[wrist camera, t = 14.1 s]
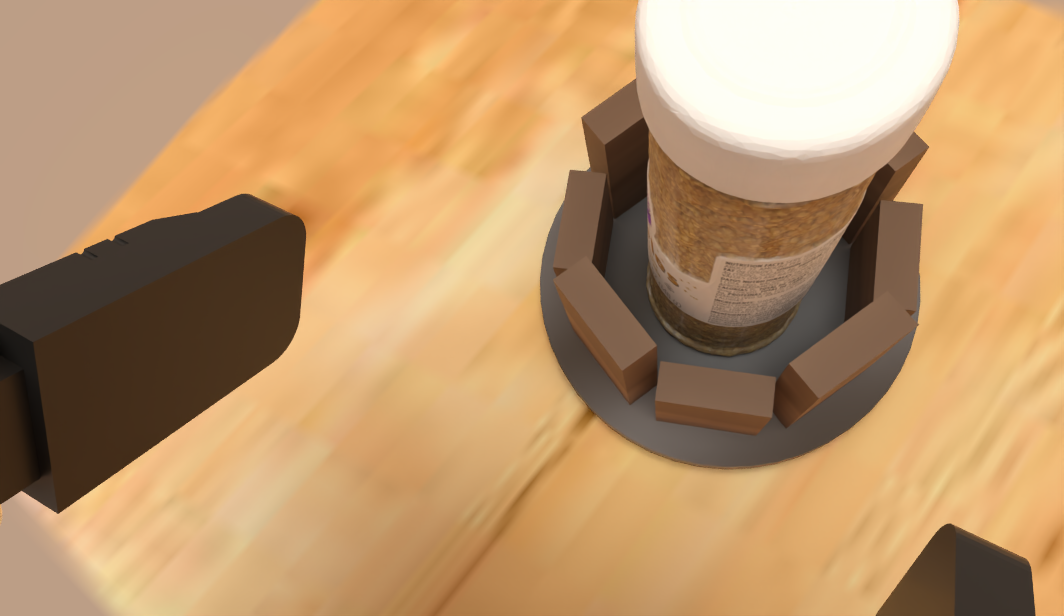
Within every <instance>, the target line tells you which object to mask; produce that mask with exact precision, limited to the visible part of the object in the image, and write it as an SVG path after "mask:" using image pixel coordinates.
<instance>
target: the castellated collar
mask: <svg viewBox="0 0 1064 616" xmlns="http://www.w3.org/2000/svg"><path fill="white" fill-rule="evenodd" d="M581 118H582V124H583V129H584V135H585V140H586V145H587V151H588V156H589V162H590V168H589V169H588V170H587V171H576V170H570V172H569V178H568V183H567V189H566V195H565V200H564V202H563V204H562V205H561V207H560V209H559V211H558V213H557V214H556V217H555V219H554V222H553V224H552V227H551V229H550V232H549V234H548V238H547V242H546V246H545V250H544V254H543V258H542V267H541V276H540V291H541V306H542V312H543V318H544V324H545V327H546V331H547V334H548V337H549V340H550V344H551V347H552V349H553V351H554V353H555V355H556V357H557V360H558V362H559V364H560V366H561V368H562V370H563V372H564V373H565V375H566V377H567V378H568V380H569V381H570V383H571V384H572V386H573V388H574V389H575V391H576V392H577V394H578V395H579V396H580V397H581V398H582V400H583V401H584V402H585V403H586V404H587V406H588V407H589V408H590V409H591V410H592V411H593V412H594V413H595V414H596V415H597V416H598V417H599V418H600V419H601V420H602V421H604V422H605V423H606V424H607V425H608V426H609V427H610V428H612V429H613V430H614V431H616V432H617V433H619V434H620V435H622V436H623V437H624V438H626V439H627V440H629V441H630V442H632V443H634V444H636V445H638V446H640V447H642V448H644V449H646V450H648V451H650V452H651V453H654V454H657V455H660V456H662V457H665V458H668V459H671V460H673V461H677V462H681V463H685V464H690V465H694V466H699V467H708V468H718V469H742V468H754V467H760V466H766V465H772V464H777V463H780V462H783V461H787V460H790V459H793V458H796V457H799V456H802V455H804V454H806V453H808V452H810V451H812V450H815V449H817V448H819V447H821V446H823V445H825V444H826V443H828V442H830V441H831V440H833V439H834V438H836V437H837V436H839V435H840V434H842V433H844V432H845V431H847V430H848V429H850V428H851V427H852V426H853V425H855V424H856V423H857V422H858V421H859V420H860V419H862V418H863V417H864V416H865V415H866V414H867V413H869V412H870V411H871V410H872V408H873V407H874V406H875V405H876V404H877V403H878V402H879V400H880V399H881V398H882V397H883V396H884V395H885V394H886V392H887V391H888V389H889V388H890V386H891V385H892V383H893V382H894V380H895V379H896V377H897V375H898V374H899V372H900V371H901V368H902V366H903V364H904V362H905V360H906V357H907V355H908V353H909V351H910V348H911V345H912V341H913V338H914V334H915V331H916V327H917V326H918V325H919V324H918V323H917V322H918V315H919V307H920V275H919V261H920V244H921V227H922V211H923V204H916V203H906V202H895V201H893V200H894V198H895V197H896V195H897V194H898V192H899V191H900V189H901V188H902V186H903V185H904V183H905V182H906V180H907V179H908V178H909V176H910V175H911V173H912V172H913V170H914V169H915V167H916V166H917V164H918V163H919V161H920V160H921V158H922V157H923V155H924V154H925V152H926V151H927V149H928V148H929V146H928V145H927V144H926V143H925V142H924V141H923V140H922V139H921V138H920V137H919V136H918V135H917V134H916V133H915V132H914V131H913V133H912V134H911V136H910V137H909V139H908V140H907V142H906V143H905V145H904V146H903V147H902V148H901V150H900V151H899V152H898V153H897V154H896V155H895V156H894V157H893V158H892V159H891V160H890V161H889V162H888V163H887V164H886V165H884V166H883V167H882V168H880V169H879V170H878V171H876V173H875V175H874V177H873V179H872V180H871V182H870V184H869V185H868V187H867V189H866V193H865V195H864V198H863V201H862V203H861V204H860V206H859V208H858V210H857V212H856V214H855V215H854V217H853V219H852V220H851V222H850V224H849V225H848V227H847V229H846V230H845V232H844V234H843V235H842V237H841V239H840V240H839V242H838V243H837V245H836V247H835V249H834V250H833V252H832V254H831V255H830V257H829V258H828V260H827V262H826V263H825V265H824V267H823V268H822V270H821V271H820V273H819V275H818V276H817V278H816V279H815V281H814V283H813V284H812V286H811V287H810V289H809V291H808V292H807V293H806V295H805V296H804V297H803V298H802V300H801V303H800V306H799V308H798V311H797V313H796V316H795V317H794V318H793V320H792V321H791V323H790V324H789V325H788V327H787V329H786V330H785V331H784V333H783V334H782V335H780V336H779V337H778V338H777V339H775V340H774V341H772V342H771V343H770V344H768V345H767V346H765V347H762V348H760V349H758V350H755V351H753V352H750V353H744V354H739V355H735V356H731V357H728V356H721V355H712V354H709V353H704V352H700V351H698V350H696V349H694V348H691V347H689V346H686V345H684V344H683V343H681V342H680V341H678V340H677V339H676V338H675V337H673V336H672V335H671V334H669V333H668V332H667V331H666V330H665V328H664V327H663V326H662V324H661V323H660V321H659V320H658V318H657V317H656V315H655V313H654V311H653V309H652V307H651V304H650V301H649V298H648V292H647V287H646V281H647V267H648V262H649V257H648V219H647V208H648V207H647V168H648V161H649V128H648V126H647V123H646V121H645V119H644V116H643V113H642V109H641V106H640V102H639V98H638V93H637V83H636V79H635V80H633V81H632V82H630V83H629V84H628V85H626V86H625V87H623V88H622V89H621V90H619V91H618V92H616V93H615V94H614V95H612V96H611V97H609V98H608V99H607V100H605V101H604V102H602V103H601V104H599V105H598V106H597V107H595V108H594V109H592V110H591V111H590V112H588V113H587V114H585V115H584V116H583V117H581Z"/></svg>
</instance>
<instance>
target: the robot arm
mask: <svg viewBox="0 0 1064 616" xmlns="http://www.w3.org/2000/svg"><path fill="white" fill-rule="evenodd" d="M305 244H306V230H305V226H304V223H303V221H302V220H301V219H300V218H299V217H298V216H295V215H293V214H291V213H289V212H287V211H285V210H283V209H280V208H278V207H276V206H274V205H272V204H270V203H268V202H265V201H263V200H261V199H259V198H257V197H255V196H253V195H250V194H240V195H237V196H234V197H232V198H230V199H228V200H225V201H223V202H221V203H219V204H216V205H214V206H212V207H210V208H207V209H205V210H203V211H201V212H198V213H197V212H196V213H190V214H184V215H178V216H172V217H167V218H161V219H155V220H151V221H149V222H146V223H144V224H142V225H139V226H137V227H135V228H132V229H130V230H128V231H125V232H123V233H121V234H118V235H116V236H115V238H114V240H113V241H110V240H108V239H106V240H104V241H102V242H99V243H97V244H95V245H92V246H90V247H88V248H85V249H84V252H83V253H82V254H81V255H80V254H78V253H74V254H71V255H69V256H67V257H64V258H62V259H60V260H57V261H55V262H53V263H50V264H48V265H45V266H43V267H41V268H38V269H36V270H34V271H32V272H29V273H27V274H24V275H22V276H20V277H17V278H15V279H13V280H10V281H8V282H6V283H3V284H1V285H0V525H1V521H2V509H1V504H2V503H3V502H5V501H6V500H8V499H10V498H11V497H13V496H14V495H16V494H17V493H19V492H20V491H23V492H24V493H26V494H28V495H29V496H31V497H32V498H34V499H35V500H37V501H39V502H40V503H42V504H43V505H45V506H46V507H48V508H50V509H51V510H53V511H54V512H56V513H57V514H59V513H60V512H62V511H63V510H64V509H66V508H67V507H69V506H70V505H71V504H73V503H74V502H76V501H77V500H79V499H80V498H81V497H83V496H84V495H86V494H87V493H88V492H90V491H91V490H93V489H94V488H96V487H97V486H98V485H100V484H101V483H103V482H104V481H106V480H107V479H108V478H110V477H111V476H113V475H114V474H115V473H117V472H118V471H120V470H121V469H123V468H124V467H125V466H127V465H128V464H130V463H131V462H132V461H134V460H135V459H137V458H138V457H140V456H141V455H142V454H144V453H145V452H147V451H148V450H149V449H151V448H152V447H154V446H155V445H157V444H158V443H159V442H161V441H162V440H164V439H165V438H167V437H168V436H169V435H171V434H172V433H174V432H175V431H176V430H178V429H179V428H181V427H182V426H184V425H185V424H186V423H188V422H189V421H191V420H192V419H193V418H195V417H196V416H198V415H199V414H201V413H202V412H203V411H205V410H206V409H208V408H209V407H210V406H212V405H213V404H215V403H216V402H218V401H219V400H220V399H222V398H223V397H225V396H226V395H228V394H229V393H230V392H232V391H233V390H235V389H236V388H237V387H239V386H240V385H242V384H243V383H245V382H246V381H247V380H249V379H250V378H252V377H253V376H254V375H256V374H257V373H259V372H260V371H262V370H263V369H264V368H266V367H267V366H269V365H270V364H272V363H273V362H274V361H275V360H277V359H278V358H279V357H280V356H281V355H282V354H283V352H284V351H285V350H286V349H287V347H288V346H289V344H290V343H291V341H292V339H293V337H294V335H295V333H296V330H297V327H298V324H299V319H300V309H301V296H302V283H303V270H304V257H305ZM876 616H1035V605H1034V594H1033V582H1032V572H1031V566H1030V564H1029V562H1028V561H1027V560H1026V559H1025V558H1023V557H1021V556H1019V555H1017V554H1014V553H1012V552H1010V551H1008V550H1006V549H1004V548H1002V547H999V546H997V545H995V544H993V543H991V542H989V541H987V540H984V539H982V538H980V537H978V536H976V535H974V534H972V533H969V532H967V531H965V530H963V529H961V528H959V527H957V526H955V525H952V524H946V525H944V526H943V527H941V528H940V529H939V530H938V531H937V532H936V534H935V535H934V536H933V537H932V539H931V540H930V541H929V543H928V544H927V545H926V547H925V548H924V550H923V551H922V552H921V554H920V555H919V556H918V558H917V559H916V560H915V562H914V563H913V565H912V566H911V567H910V569H909V570H908V571H907V573H906V574H905V576H904V577H903V578H902V580H901V581H900V582H899V584H898V585H897V586H896V588H895V589H894V591H893V592H892V593H891V595H890V596H889V597H888V599H887V600H886V601H885V603H884V604H883V606H882V607H881V608H880V610H879V611H878V613H877V614H876Z"/></svg>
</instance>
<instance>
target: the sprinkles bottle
mask: <svg viewBox="0 0 1064 616" xmlns="http://www.w3.org/2000/svg"><path fill="white" fill-rule="evenodd" d="M958 29H959V7H958V1H957V0H639V1H638V6H637V11H636V20H635V67H636V83H637V93H638V98H639V102H640V106H641V109H642V113H643V116H644V119H645V121H646V123H647V126H648V128H649V161H648V168H647V207H648V208H647V219H648V257H649V262H648V267H647V281H646V287H647V292H648V298H649V301H650V304H651V307H652V309H653V311H654V313H655V315H656V317H657V318H658V320H659V321H660V323H661V324H662V326H663V327H664V328H665V330H666V331H667V332H668V333H669V334H671V335H672V336H673V337H675V338H676V339H677V340H678V341H680V342H681V343H683V344H684V345H686V346H689V347H691V348H694V349H696V350H698V351H700V352H704V353H709V354H712V355H721V356H728V357H731V356H735V355H739V354H744V353H750V352H753V351H755V350H758V349H760V348H762V347H765V346H767V345H768V344H770V343H771V342H772V341H774V340H775V339H777V338H778V337H779V336H780V335H782V334H783V333H784V331H785V330H786V329H787V327H788V325H789V324H790V323H791V321H792V320H793V318H794V317H795V316H796V313H797V311H798V308H799V306H800V303H801V300H802V298H803V297H804V296H805V295H806V293H807V292H808V291H809V289H810V287H811V286H812V284H813V283H814V281H815V279H816V278H817V276H818V275H819V273H820V271H821V270H822V268H823V267H824V265H825V263H826V262H827V260H828V258H829V257H830V255H831V254H832V252H833V250H834V249H835V247H836V245H837V243H838V242H839V240H840V239H841V237H842V235H843V234H844V232H845V230H846V229H847V227H848V225H849V224H850V222H851V220H852V219H853V217H854V215H855V214H856V212H857V210H858V208H859V206H860V204H861V203H862V201H863V198H864V195H865V193H866V189H867V187H868V185H869V184H870V182H871V180H872V179H873V177H874V175H875V173H876V171H878V170H879V169H880V168H882V167H883V166H884V165H886V164H887V163H888V162H889V161H890V160H891V159H892V158H893V157H894V156H895V155H896V154H897V153H898V152H899V151H900V150H901V148H902V147H903V146H904V145H905V143H906V142H907V140H908V139H909V137H910V136H911V134H912V133H913V131H914V130H915V129H916V127H917V126H918V124H919V123H920V121H921V119H922V118H923V116H924V114H925V113H926V111H927V109H928V108H929V106H930V104H931V102H932V100H933V99H934V97H935V95H936V93H937V91H938V89H939V87H940V86H941V84H942V82H943V80H944V78H945V76H946V74H947V72H948V70H949V67H950V64H951V61H952V58H953V55H954V52H955V49H956V44H957V36H958Z"/></svg>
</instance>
